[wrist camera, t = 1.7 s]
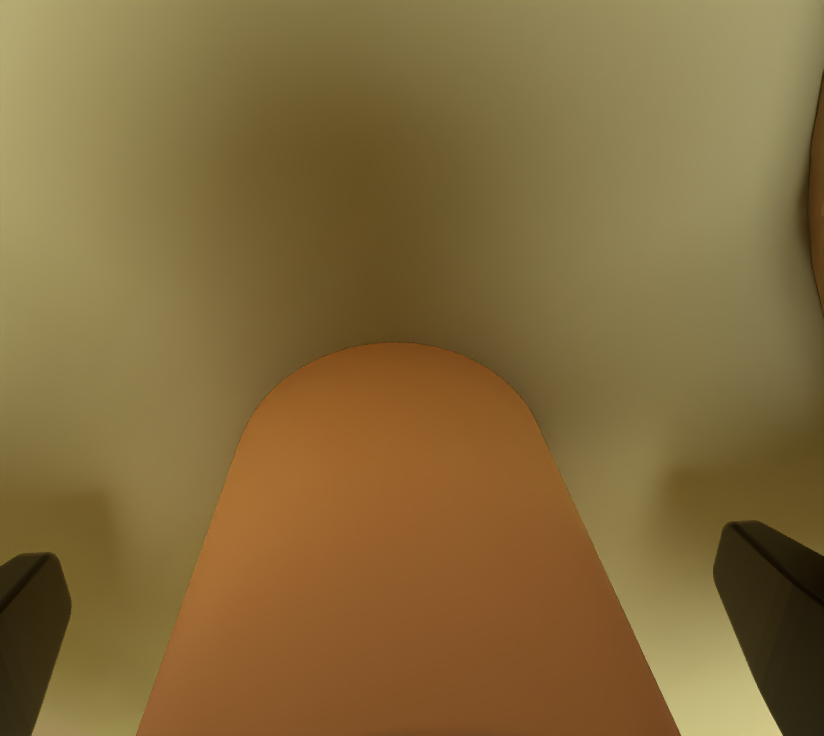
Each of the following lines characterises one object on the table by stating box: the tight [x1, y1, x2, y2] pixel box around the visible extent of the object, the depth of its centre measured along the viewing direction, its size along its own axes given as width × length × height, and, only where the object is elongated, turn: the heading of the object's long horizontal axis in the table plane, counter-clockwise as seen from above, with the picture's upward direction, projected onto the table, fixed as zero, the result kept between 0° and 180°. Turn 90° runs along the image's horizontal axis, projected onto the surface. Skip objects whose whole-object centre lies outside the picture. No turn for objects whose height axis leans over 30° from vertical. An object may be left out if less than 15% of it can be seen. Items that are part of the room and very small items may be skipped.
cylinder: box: [136, 342, 681, 736], centre depth 8 cm, size 5×5×6 cm
